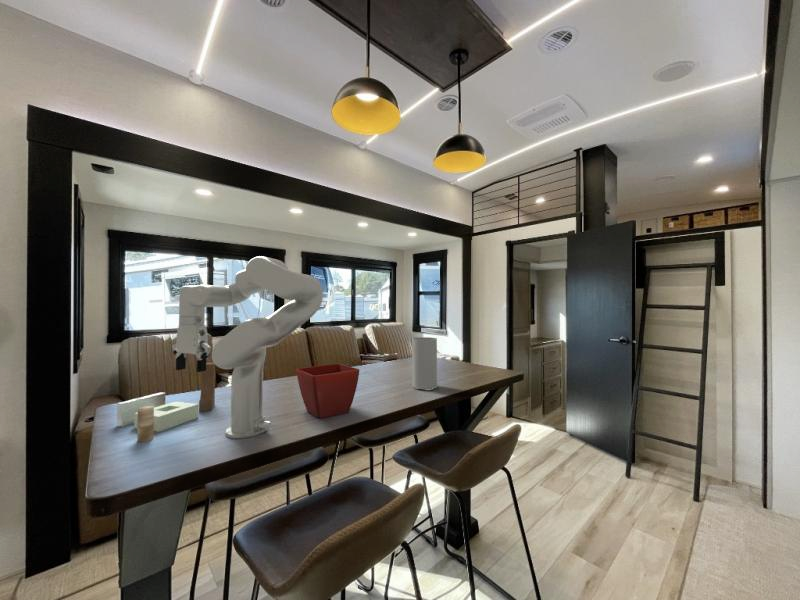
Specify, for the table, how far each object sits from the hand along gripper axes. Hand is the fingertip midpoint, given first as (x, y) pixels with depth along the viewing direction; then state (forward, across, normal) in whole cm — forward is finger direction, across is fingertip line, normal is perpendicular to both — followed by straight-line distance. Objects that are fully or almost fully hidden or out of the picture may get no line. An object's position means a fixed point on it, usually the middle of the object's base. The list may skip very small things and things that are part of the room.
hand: (190, 370), depth 113 cm
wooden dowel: (+19, +2, +13) cm, 23 cm away
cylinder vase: (+19, -64, -77) cm, 102 cm away
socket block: (+19, +10, 0) cm, 22 cm away
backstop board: (+20, +23, +1) cm, 30 cm away
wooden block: (+20, +12, -17) cm, 28 cm away
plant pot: (+19, -37, -29) cm, 51 cm away
